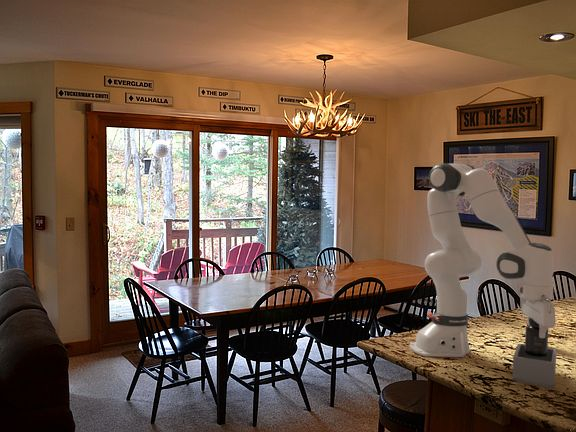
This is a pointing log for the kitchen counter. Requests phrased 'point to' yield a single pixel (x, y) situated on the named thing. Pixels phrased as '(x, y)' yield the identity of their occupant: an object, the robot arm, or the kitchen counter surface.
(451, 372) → the kitchen counter surface
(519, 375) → the walled bin
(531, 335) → the supplement bottle
